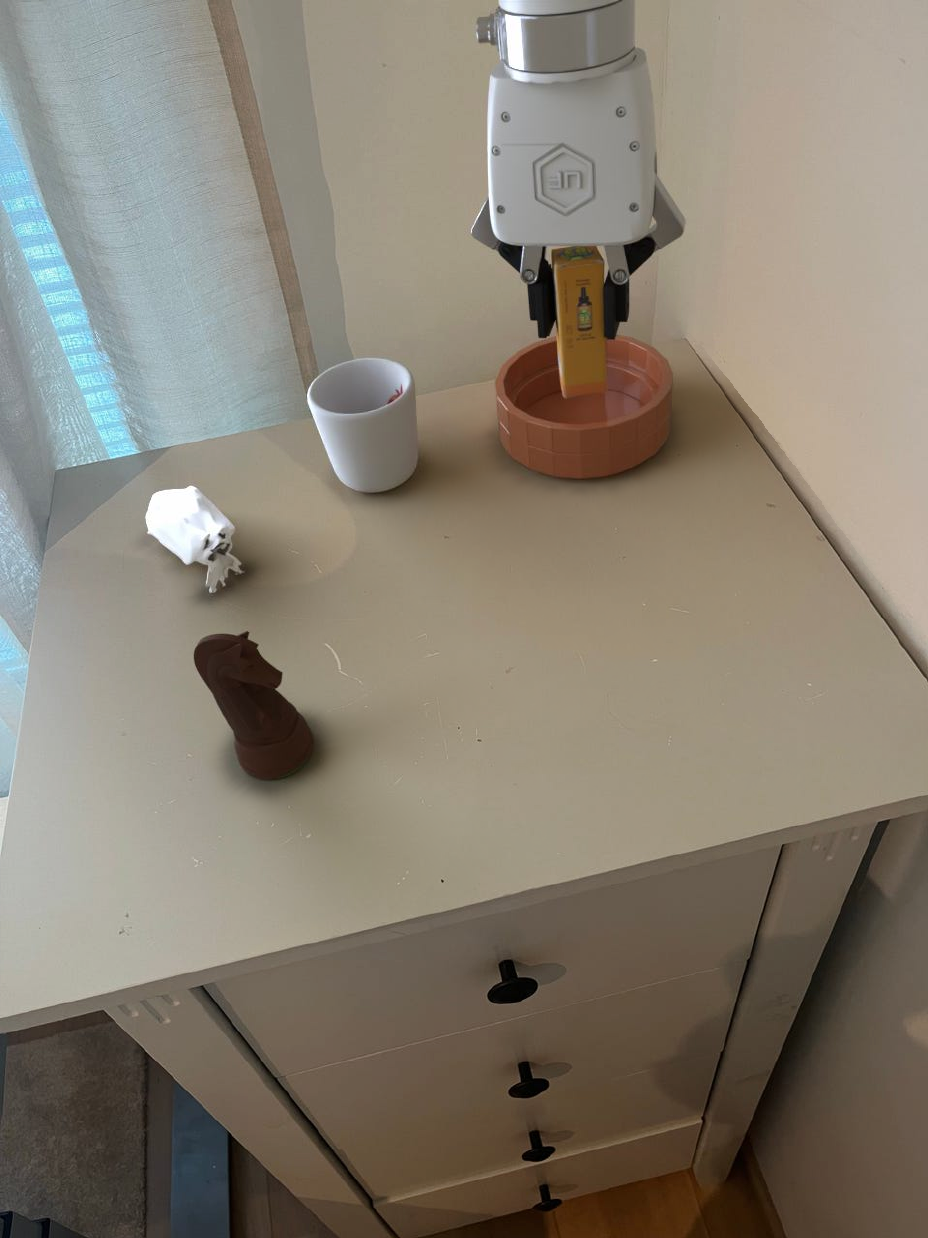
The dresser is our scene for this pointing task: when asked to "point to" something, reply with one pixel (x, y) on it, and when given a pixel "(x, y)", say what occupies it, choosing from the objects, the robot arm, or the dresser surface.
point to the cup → (367, 422)
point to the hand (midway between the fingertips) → (579, 326)
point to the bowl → (584, 411)
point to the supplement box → (580, 320)
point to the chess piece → (254, 706)
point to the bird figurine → (193, 531)
